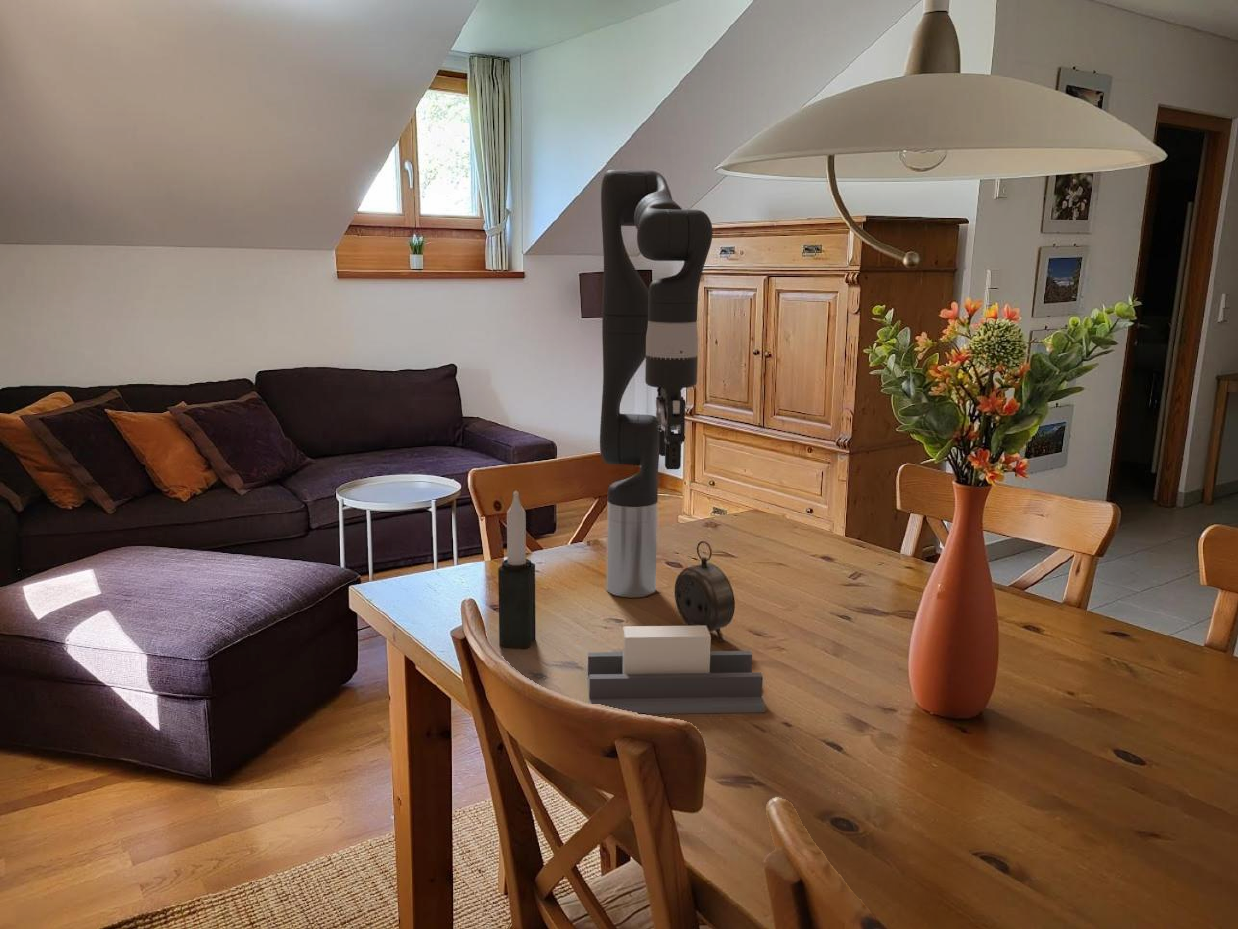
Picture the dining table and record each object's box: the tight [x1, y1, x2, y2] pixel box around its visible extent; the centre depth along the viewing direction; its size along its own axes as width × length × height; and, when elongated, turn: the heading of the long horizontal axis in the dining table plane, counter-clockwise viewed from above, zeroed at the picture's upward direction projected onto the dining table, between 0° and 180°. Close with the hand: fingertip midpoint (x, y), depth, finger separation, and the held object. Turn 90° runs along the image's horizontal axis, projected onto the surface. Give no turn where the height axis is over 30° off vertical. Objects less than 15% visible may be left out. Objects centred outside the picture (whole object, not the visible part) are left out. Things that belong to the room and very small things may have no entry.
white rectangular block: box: [622, 625, 712, 674], centre depth 131 cm, size 4×12×8 cm, turn 94°
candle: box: [497, 490, 536, 650], centre depth 146 cm, size 5×5×25 cm
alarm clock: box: [674, 540, 736, 644], centre depth 150 cm, size 11×5×16 cm, turn 35°
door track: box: [587, 650, 767, 715], centre depth 132 cm, size 14×24×4 cm, turn 93°
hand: (669, 461), depth 137 cm, fingers open, 8 cm apart
